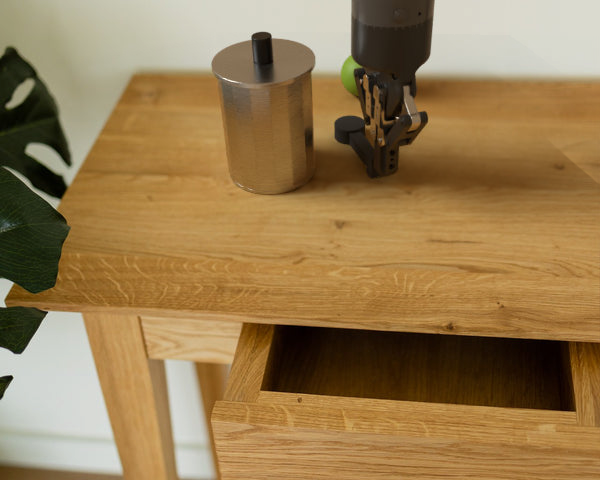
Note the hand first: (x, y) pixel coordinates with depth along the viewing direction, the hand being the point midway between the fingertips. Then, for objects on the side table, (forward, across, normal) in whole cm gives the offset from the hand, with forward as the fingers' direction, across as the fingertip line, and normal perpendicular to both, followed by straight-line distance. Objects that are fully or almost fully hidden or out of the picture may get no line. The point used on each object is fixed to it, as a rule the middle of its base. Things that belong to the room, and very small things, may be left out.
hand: (385, 171), depth 81 cm
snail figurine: (+1, +19, -6) cm, 20 cm away
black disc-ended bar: (+1, +7, 0) cm, 7 cm away
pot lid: (-11, +7, +11) cm, 17 cm away
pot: (+2, +7, +10) cm, 13 cm away
